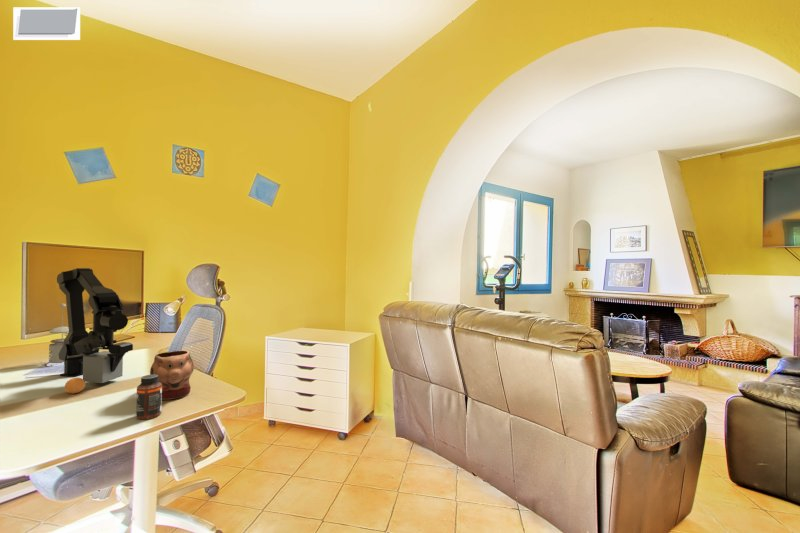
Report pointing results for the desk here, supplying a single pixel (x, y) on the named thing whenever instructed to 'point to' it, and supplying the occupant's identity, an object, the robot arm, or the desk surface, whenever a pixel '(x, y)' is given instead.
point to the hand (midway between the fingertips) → (102, 370)
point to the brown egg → (74, 385)
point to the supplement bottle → (149, 397)
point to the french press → (57, 342)
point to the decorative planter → (173, 373)
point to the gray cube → (100, 368)
